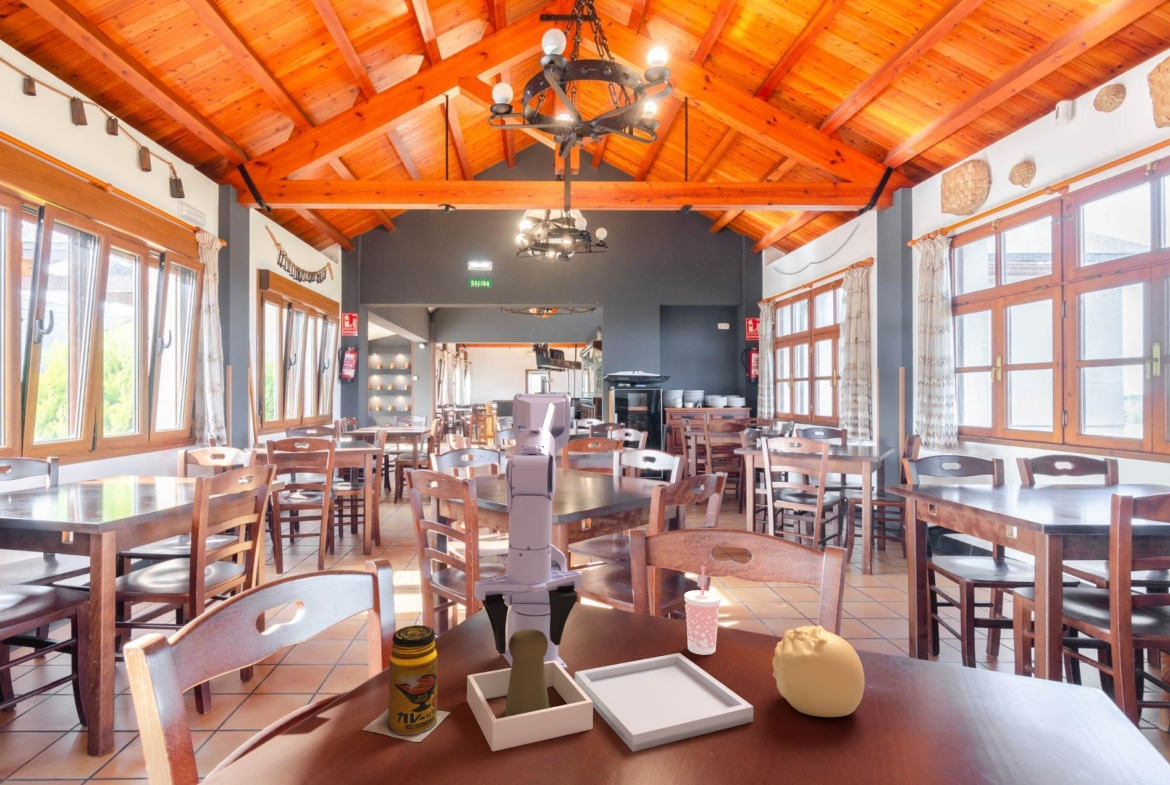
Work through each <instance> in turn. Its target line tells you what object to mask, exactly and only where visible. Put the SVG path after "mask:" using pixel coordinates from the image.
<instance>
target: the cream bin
mask: <svg viewBox="0 0 1170 785" xmlns="http://www.w3.org/2000/svg"><path fill="white" fill-rule="evenodd" d="M544 666H545V675H546V684H547V688H551V687H553V688H554V689H555V690H556V691H557V693H558V694H559V695H560V697H561V698H562V699H563V700H564V701H565V703H566V704H563V705H559V706H553V707H549V708H548V709H543V710H538V711H533V712H528V713H523V714H518V715H513V716H509V717H505V716H504V717H499V718H497V717H496V716H495V714H494V712H493V711H492V709H491V707H490V705H489V703H488V701H487V700H488V699H493V698H497V697H503V696H507V694H508V688H509V681H510V674H511V667H508V668H502V669H496V670H491V671H485V672H479V673H478V672H477V673H473V674H468V675H467V676H466V679H467V680H466V681H467V683H466V690H467V691H466V701H467V703H468V706H469V707H470V709H471V711H472V713H473V715H474V718H475V719H476V722H477V723H478V725H479V728H480V729H481V732H482V733H483V735H484V737H485V739H486V742H487V743H488V746H489V748H490V750H491V751H492V753H493V752H496V751H501V750H505V749H510V748H514V747H515V748H516V747H519V746H523V745H524V746H525V745H527V744H533V743H537V742H541V741H545V740H549V739H550V740H551V739H554V738H558V737H564V736H566V735H571V734H577V733H579V732H580V733H582V732H585V731H589V730H593V726H594V725H593V724H594V719H593V718H594V707H593V701H592V700H591V699H590V698H589V697H588V695H587V694H586V693H585V692H584V691H583V690H582V689H581V688H580V687H579V685H578V684H577V683H576V682H575V679H574V678H573V677H572V676H571V675H570V674H569V673H568V671H566V669H563V667H562V666H561V665H560V664H559V663H558V662H557V661H556V660H553V661H548V662H544Z"/></svg>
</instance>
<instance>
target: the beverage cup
mask: <svg viewBox="0 0 1170 785" xmlns="http://www.w3.org/2000/svg"><path fill="white" fill-rule="evenodd" d="M700 579H701V583H700V584H701V586H700V590H699V589H696V590H689V591H687V592H685V593H684V595H683V597H684V599H683V600H684V602H685V610H686V611H685V613H686V615H685V616H686V632H687V633H686V634H687V650H688V651H689V652H691V653H693V654H697V655H703V656H705V655H712V654H714V653H716V647H717V635H718V626H719V625H718V623H719V610H720V604H721V602H722V601H721V599H722V597H721V595H720V594H718V593H716V592H714V591H710V590H705V565H701V577H700Z"/></svg>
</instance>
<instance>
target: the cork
mask: <svg viewBox="0 0 1170 785" xmlns="http://www.w3.org/2000/svg"><path fill="white" fill-rule="evenodd" d="M547 648H548V641H547V638H546V636H545V634H544V633H543V632H541V631H539V630H536V629H522V630H519V631H517V632H515V633H514V634H513V635H512V636H511V638H510V641H509V651H510V655H511V656H512V658H513V660H512V667H511V666H510V668H511V674H510V681H509V688H508V694H507V695H506V703H505V709H504V710H505V711H504V717H509V716H513V715H518V714H523V713H528V712H533V711H538V710H543V709H548V708H550V702H549V696H548V695H549V694H548V687H547V684H546V675H545V666H544V658H543V657H544V656H545V655H546V652H547Z"/></svg>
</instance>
